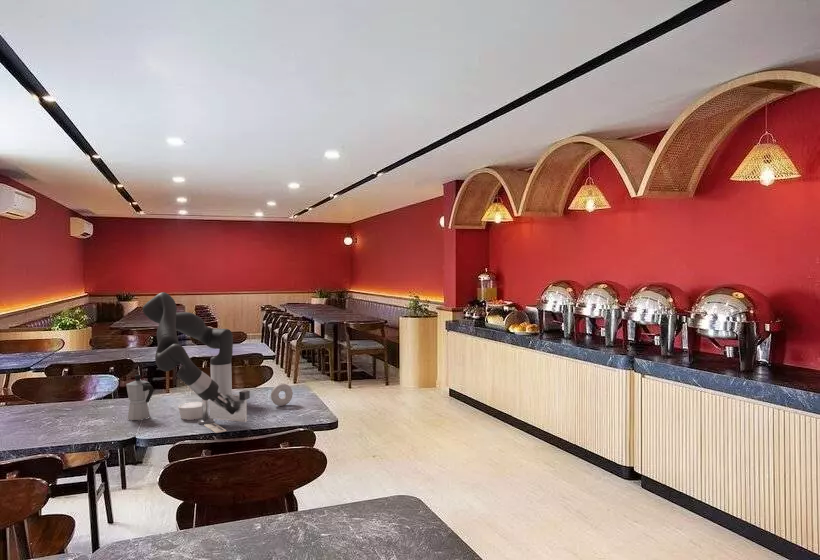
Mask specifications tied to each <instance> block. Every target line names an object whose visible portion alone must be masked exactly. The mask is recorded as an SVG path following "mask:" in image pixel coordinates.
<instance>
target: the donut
mask: <svg viewBox="0 0 820 560" xmlns="http://www.w3.org/2000/svg"><path fill="white" fill-rule="evenodd" d="M281 392H284V396H283V397H280V393H281ZM293 394H294V393H293V389H292V387H291V386H290V385H289V384H287V383H278V384H276V385H275V386H274V387H273V388H272V390H271V392H270V398H271V401H272V403H273V404H274V405H275V406H278V407H280V406H281V407H284V406H286V405H288V404H289V403H290V402H291V401H292V399H293Z"/></svg>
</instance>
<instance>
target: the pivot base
mask: <svg viewBox="0 0 820 560" xmlns="http://www.w3.org/2000/svg"><path fill="white" fill-rule="evenodd" d="M211 423H215V419H210V417H209V419H208V420H202V418H200V419H197V424H198V425H201V424H203V426H204V424H211Z"/></svg>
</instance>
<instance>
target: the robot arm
mask: <svg viewBox="0 0 820 560" xmlns="http://www.w3.org/2000/svg"><path fill="white" fill-rule="evenodd" d="M142 312H143V314H144V315H145V317H147V318H148V319H149V320H150V321H152V322H154V323H157V324H158V326H157V329H156V341H157V347H156V351H155V357H154V360H155V365H156V366H157V369H159V370H160V371H162V372H170V371H172V370H173V369H174V368H176V367H177V366H178V365H180V364H182V365H181V366H180V368H179V369H178V371H177V373H176V374H177V375H176V376H177V377H178V379H179V380H180V381H182V382H183V383H184V384H185V385H186V386H187V387H188V388H189V389H190V390H191V391H192V392H193V393H195V394H196V395H197V396H198V397H199V398H201V400H202V399H203V400H208V401H209V399H210V400H211V401H212V402H214V403H215V404H217V405H218V406H220V407H222V408H224V409H225V410H227V411H228V412H229V413H230V414H234V413H235V412H236V409H234V408H233V407H232V406H231V403H230V401H229V400H228V398H225V397H224V396H223V394H232V395H233V387H232V386H233V385H232V384H233V383H232V382H233V380H232V379H233V378H232V375H233V374H232V358H233V348H234V346H233V345H234V338H233V337H234V336H233V332H232V331H231V330H230V329H229V328H213V327H209V326H207V325H206V322H205V321H204V320H203V318H202V317H200V316H199V315H196V314H195V313H193V312H190V311H189V312H187V311H182V312H180V311H179V312H177V304H176V301H175V299H174V298H173V297H172V296H171V295H170V294H168V293H166V292H164V291H163V292H160V293H158V294H156V295H155V296H154V297H152V298H151V299H150V300H149V301H147V302H146V303H144V305H143V306H142ZM177 331H178V332H180V333H181V334H184V335H186V336H188V337H190V338H192V339H195V340H198V341H199V342H201V343H202V344H204V345H205V346H206V347H208V348H209V349H214V350H215V349H216V350H217V349H218V350H219V351H218V354H217V355H214V356H212V357H210V362H209V364H210V376H209V375H208V374H207V373H206V372H204V371H203V370H201V369H200V368H199V367H198V366H197V365H196V364H195V363H194V362H193V361H192V359H191V358H190V357H189V355H188V353H187V351H186V350H185V348H184V347H183V346H182V345H181V344H180V343H179V339H178V335H177V334H178V333H177Z"/></svg>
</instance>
